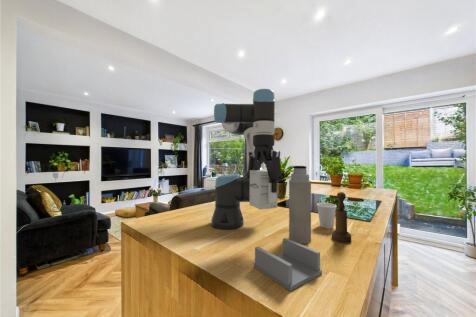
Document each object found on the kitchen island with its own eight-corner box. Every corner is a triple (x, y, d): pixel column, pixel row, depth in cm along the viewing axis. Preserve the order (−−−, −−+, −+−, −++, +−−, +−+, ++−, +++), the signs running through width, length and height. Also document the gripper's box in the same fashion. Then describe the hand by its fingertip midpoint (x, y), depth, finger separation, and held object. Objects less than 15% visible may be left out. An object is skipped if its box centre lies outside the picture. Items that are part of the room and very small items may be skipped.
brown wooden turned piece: (329, 239, 76) (329, 192, 77) (334, 235, 81) (334, 190, 81) (348, 244, 72) (348, 194, 72) (353, 239, 77) (353, 192, 77)
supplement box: (248, 205, 72) (249, 170, 72) (266, 203, 75) (266, 169, 75) (259, 210, 65) (259, 171, 65) (278, 207, 68) (278, 170, 68)
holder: (253, 266, 56) (253, 246, 56) (284, 255, 63) (284, 237, 63) (290, 291, 46) (290, 266, 46) (321, 274, 53) (321, 252, 53)
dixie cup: (316, 222, 97) (316, 202, 97) (335, 224, 94) (335, 203, 95) (317, 228, 89) (317, 205, 90) (337, 230, 87) (337, 207, 87)
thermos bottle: (309, 236, 79) (309, 165, 80) (312, 244, 72) (312, 166, 72) (288, 234, 81) (288, 165, 82) (289, 242, 73) (289, 165, 74)
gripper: (237, 136, 77) (237, 196, 77) (277, 130, 60) (277, 207, 60) (253, 138, 81) (252, 194, 81) (294, 132, 64) (294, 204, 64)
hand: (263, 199), depth 70 cm, fingers closed on supplement box, 8 cm apart
